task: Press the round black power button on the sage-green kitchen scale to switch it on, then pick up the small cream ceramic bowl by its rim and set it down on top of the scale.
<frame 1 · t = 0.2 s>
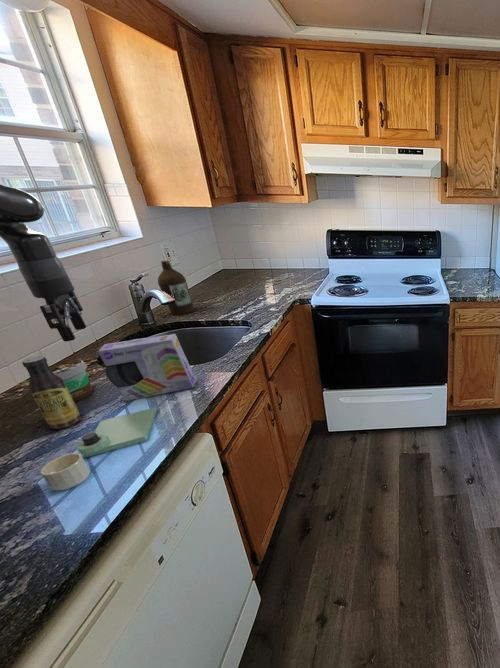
hand: (75, 334, 98), 22 cm above the counter, tool pointing down, fingers open, 8 cm apart
sauce bottle: (68, 423, 100), on the counter
food container: (78, 398, 111), on the counter
bowl: (72, 480, 81), on the counter
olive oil: (183, 312, 178), on the counter
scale: (123, 432, 95), on the counter
cake pan box: (160, 392, 113), on the counter
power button: (90, 439, 88), point 4 cm above the counter, slide at 0.1 cm
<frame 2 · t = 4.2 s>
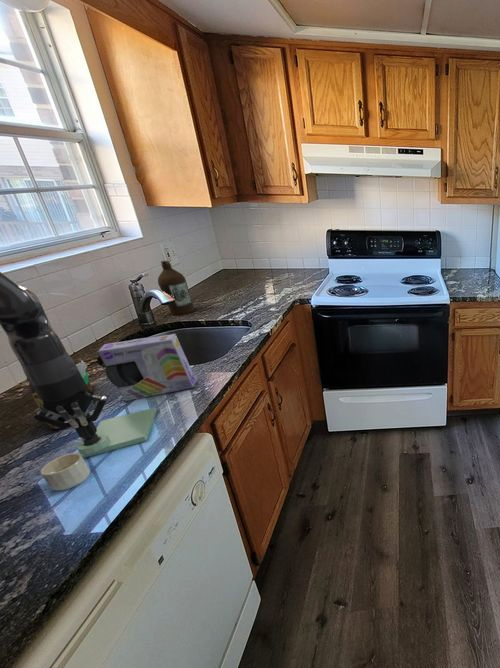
hand: (90, 436, 87), 4 cm above the counter, tool pointing down, fingers closed
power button: (91, 440, 88), point 3 cm above the counter, slide at -0.2 cm, touching gripper
everything else where it was.
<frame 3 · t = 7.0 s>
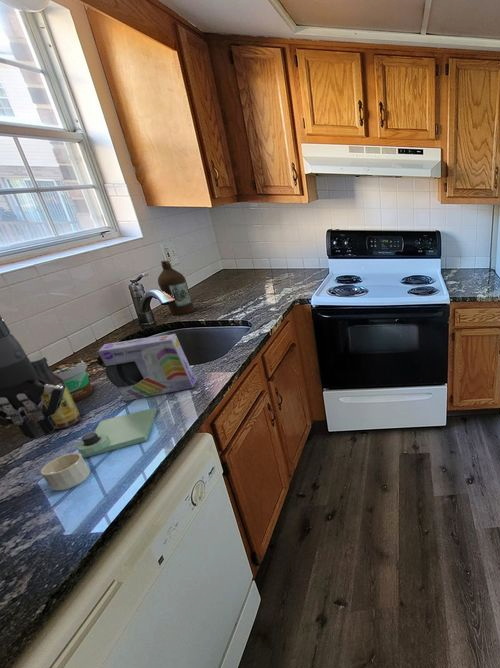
hand: (43, 433, 75), 13 cm above the counter, tool pointing down, fingers closed
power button: (90, 439, 88), point 4 cm above the counter, slide at 0.1 cm
everything else where it was.
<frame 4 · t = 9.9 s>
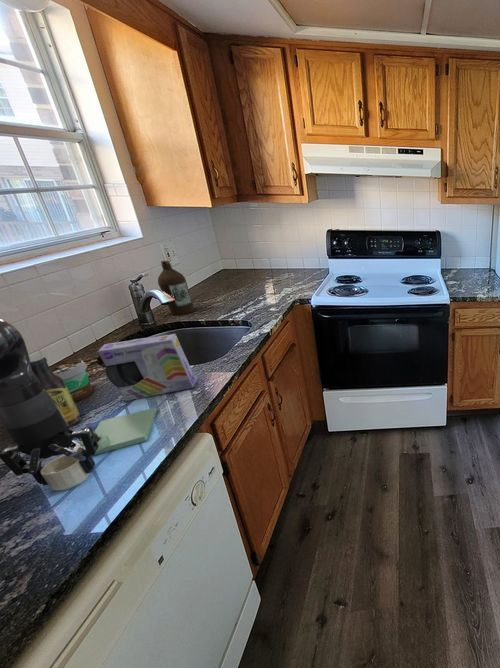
hand: (69, 476, 80), 1 cm above the counter, tool pointing down, fingers closed on bowl, 6 cm apart
bowl: (72, 480, 81), on the counter, touching gripper
everything else where it was.
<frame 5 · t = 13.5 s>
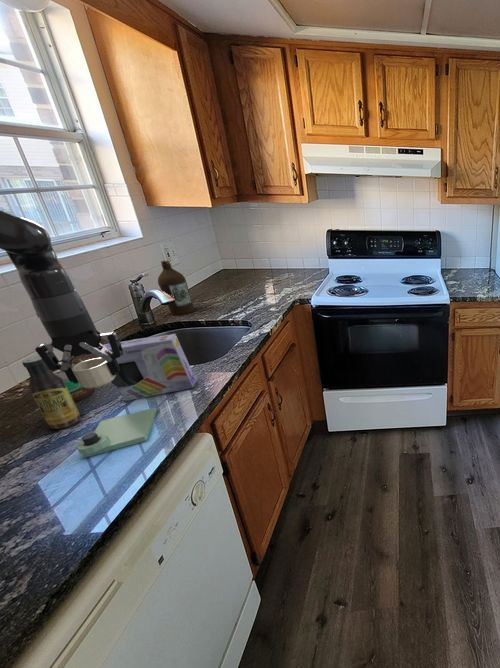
hand: (97, 377, 87), 17 cm above the counter, tool pointing down, fingers closed on bowl, 6 cm apart
bowl: (99, 382, 88), point 16 cm above the counter, touching gripper
everything else where it was.
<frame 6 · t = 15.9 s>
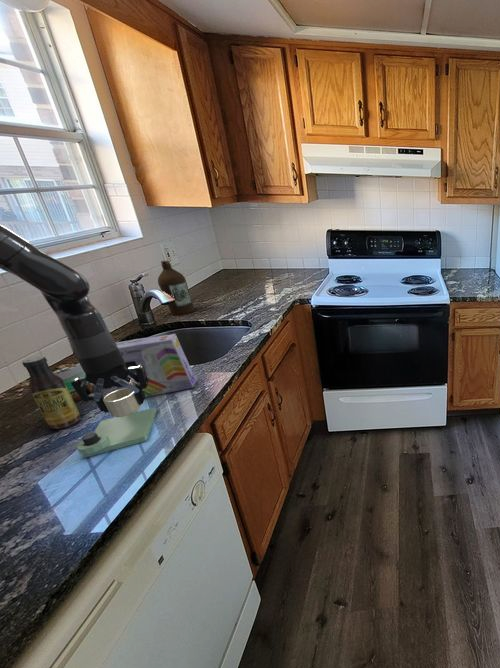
hand: (125, 406, 94), 7 cm above the counter, tool pointing down, fingers closed on bowl, 6 cm apart
bowl: (127, 410, 95), point 5 cm above the counter, touching gripper
everything else where it was.
when the fingers open (3 cm above the counter, at t = 17.6 s): bowl stays where it is, resting on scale.
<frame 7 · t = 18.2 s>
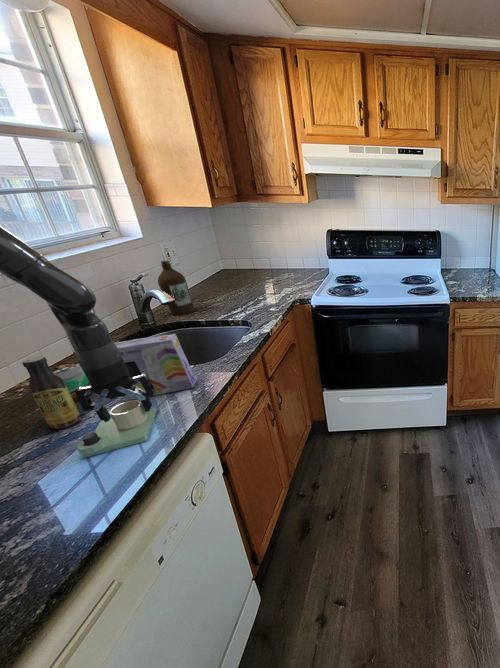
hand: (128, 415, 96), 4 cm above the counter, tool pointing down, fingers open, 8 cm apart
bowl: (133, 422, 97), point 1 cm above the counter, touching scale
everything else where it was.
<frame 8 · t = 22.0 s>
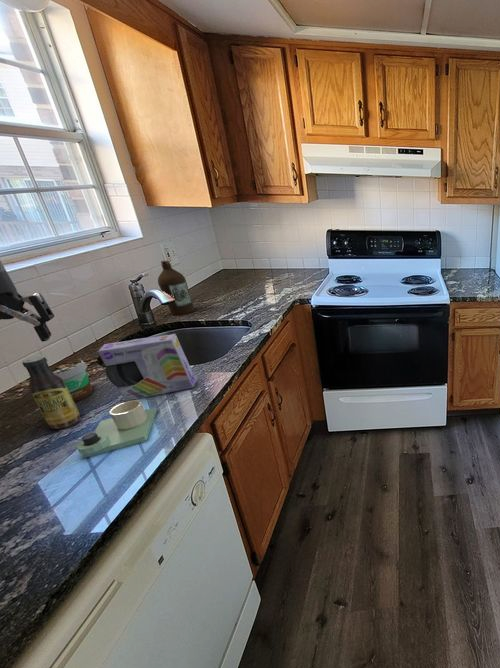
hand: (20, 344, 80), 28 cm above the counter, tool pointing down, fingers open, 8 cm apart
nothing on the counter moved.
at the end: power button pushed in 1.0 cm at the most during the clip, back to where it started at the end; bowl 0.1 cm from the target spot on the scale, point 1.4 cm above the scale's base; bowl tilted 0° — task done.
